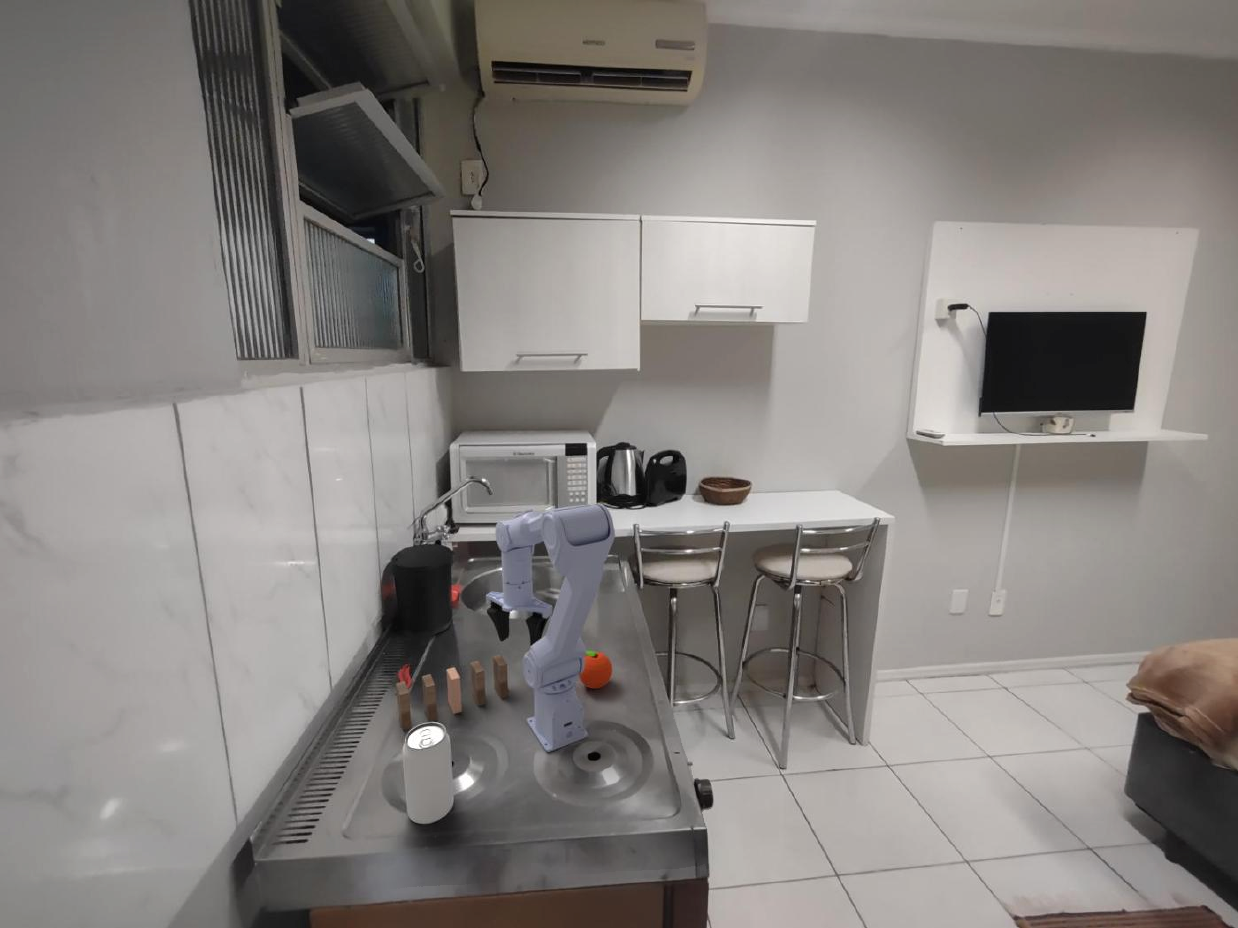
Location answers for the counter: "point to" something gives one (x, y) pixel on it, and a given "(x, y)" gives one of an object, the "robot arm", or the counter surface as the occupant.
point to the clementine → (596, 670)
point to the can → (428, 773)
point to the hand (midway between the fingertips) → (519, 643)
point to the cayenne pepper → (405, 676)
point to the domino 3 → (454, 690)
